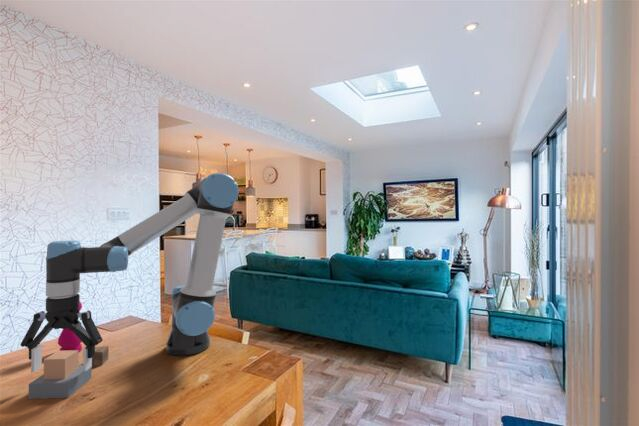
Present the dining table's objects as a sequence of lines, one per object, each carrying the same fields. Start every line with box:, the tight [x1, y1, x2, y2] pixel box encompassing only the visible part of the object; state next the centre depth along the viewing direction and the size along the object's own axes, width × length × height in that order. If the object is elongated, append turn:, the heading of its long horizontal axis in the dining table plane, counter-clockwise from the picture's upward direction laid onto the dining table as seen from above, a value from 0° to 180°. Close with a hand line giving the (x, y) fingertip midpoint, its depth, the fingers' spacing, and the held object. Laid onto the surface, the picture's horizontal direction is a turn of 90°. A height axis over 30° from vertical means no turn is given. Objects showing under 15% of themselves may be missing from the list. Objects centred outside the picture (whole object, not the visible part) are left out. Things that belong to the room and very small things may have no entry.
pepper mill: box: [57, 301, 83, 353], centre depth 113 cm, size 7×7×20 cm
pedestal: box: [28, 364, 92, 400], centre depth 91 cm, size 10×10×4 cm
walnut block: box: [92, 345, 109, 367], centre depth 106 cm, size 4×4×4 cm
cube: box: [43, 350, 79, 379], centre depth 91 cm, size 6×6×6 cm
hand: (62, 369), depth 91 cm, fingers open, 13 cm apart
